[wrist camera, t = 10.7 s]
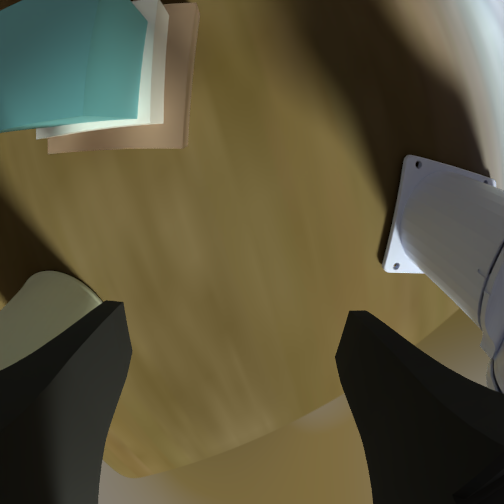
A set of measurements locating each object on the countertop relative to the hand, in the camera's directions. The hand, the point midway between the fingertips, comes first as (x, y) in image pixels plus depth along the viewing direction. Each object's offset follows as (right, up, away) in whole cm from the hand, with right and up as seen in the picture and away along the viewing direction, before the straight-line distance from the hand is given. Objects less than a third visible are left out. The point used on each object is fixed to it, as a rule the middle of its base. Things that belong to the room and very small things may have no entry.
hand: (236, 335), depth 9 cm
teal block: (-6, +10, +1) cm, 12 cm away
